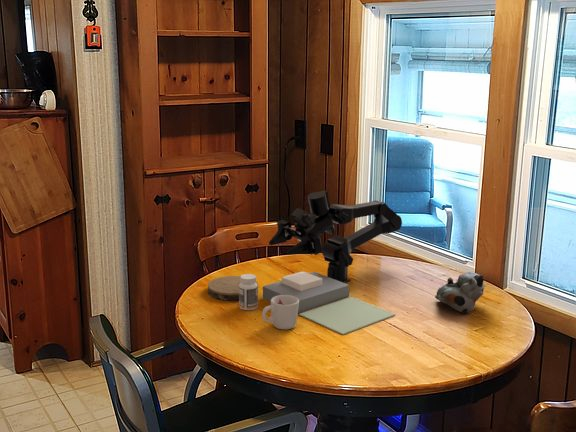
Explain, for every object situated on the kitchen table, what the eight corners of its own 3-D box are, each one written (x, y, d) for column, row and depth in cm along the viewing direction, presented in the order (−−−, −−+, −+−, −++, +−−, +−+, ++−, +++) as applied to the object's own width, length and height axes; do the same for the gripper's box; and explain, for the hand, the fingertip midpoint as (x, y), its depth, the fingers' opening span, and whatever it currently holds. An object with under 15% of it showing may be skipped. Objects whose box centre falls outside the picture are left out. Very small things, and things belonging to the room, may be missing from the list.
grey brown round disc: (259, 285, 229) (259, 276, 228) (256, 303, 213) (256, 294, 212) (211, 283, 229) (211, 275, 228) (204, 301, 214) (204, 292, 213)
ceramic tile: (302, 277, 224) (303, 271, 224) (322, 284, 218) (322, 278, 217) (281, 283, 218) (281, 277, 218) (301, 291, 212) (301, 284, 211)
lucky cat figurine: (435, 296, 220) (457, 259, 219) (469, 317, 217) (492, 278, 215) (430, 299, 206) (454, 259, 204) (466, 321, 202) (491, 280, 201)
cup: (268, 336, 190) (269, 308, 188) (256, 325, 196) (256, 298, 194) (303, 329, 194) (304, 302, 192) (290, 318, 201) (290, 293, 199)
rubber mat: (351, 297, 218) (351, 296, 218) (395, 315, 205) (395, 314, 205) (299, 315, 204) (299, 313, 204) (343, 335, 191) (343, 333, 191)
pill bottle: (259, 304, 212) (259, 273, 209) (256, 311, 206) (256, 280, 204) (240, 303, 212) (240, 272, 210) (237, 310, 207) (237, 279, 204)
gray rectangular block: (314, 283, 230) (314, 271, 229) (348, 296, 219) (349, 285, 218) (262, 298, 216) (262, 286, 215) (296, 314, 205) (297, 301, 204)
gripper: (293, 197, 225) (255, 217, 218) (331, 213, 212) (292, 235, 204) (298, 226, 231) (262, 247, 223) (336, 244, 217) (298, 266, 209)
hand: (278, 248), depth 215 cm, fingers open, 9 cm apart
